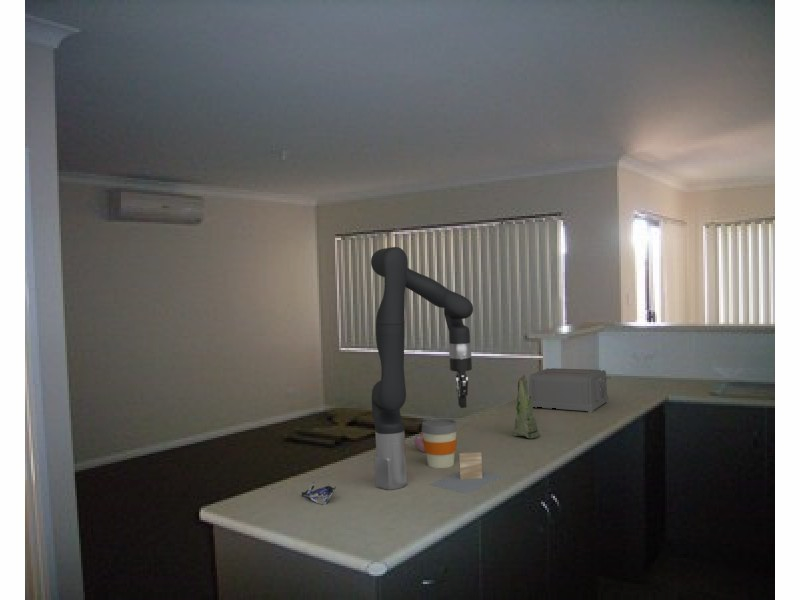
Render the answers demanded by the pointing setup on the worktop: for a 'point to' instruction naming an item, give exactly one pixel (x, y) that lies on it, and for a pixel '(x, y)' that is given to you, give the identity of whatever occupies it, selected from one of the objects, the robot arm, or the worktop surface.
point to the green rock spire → (525, 412)
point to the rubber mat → (465, 482)
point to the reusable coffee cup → (439, 442)
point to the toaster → (568, 389)
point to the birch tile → (470, 465)
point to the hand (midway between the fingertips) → (462, 406)
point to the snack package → (319, 493)
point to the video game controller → (419, 442)
